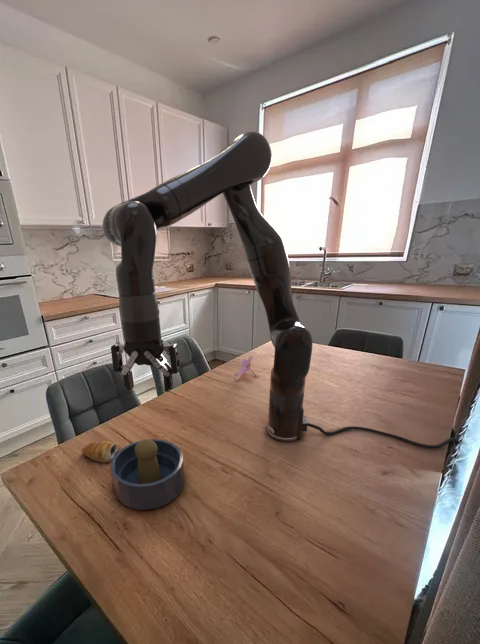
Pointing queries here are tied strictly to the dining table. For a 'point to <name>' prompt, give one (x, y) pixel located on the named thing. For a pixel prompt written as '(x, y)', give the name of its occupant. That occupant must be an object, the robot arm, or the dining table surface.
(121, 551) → the dining table surface
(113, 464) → the basin
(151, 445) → the olive game pawn
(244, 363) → the lily
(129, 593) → the dining table surface
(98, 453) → the pastry
